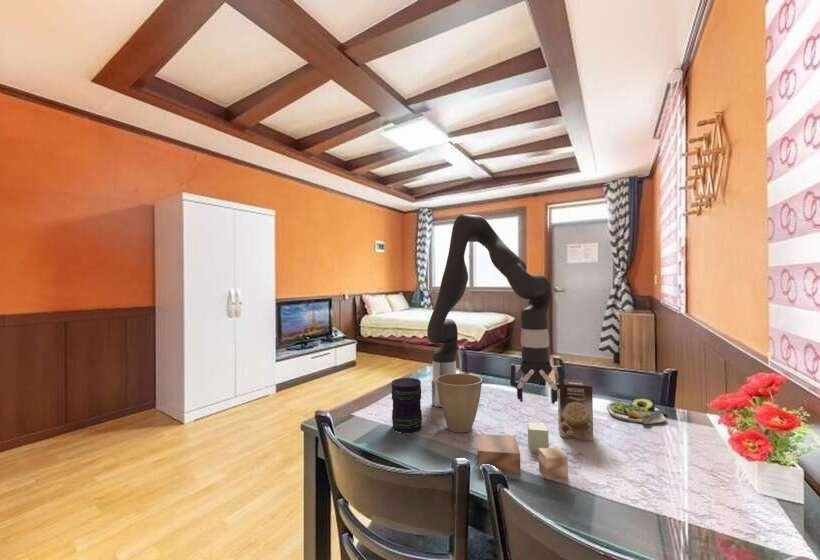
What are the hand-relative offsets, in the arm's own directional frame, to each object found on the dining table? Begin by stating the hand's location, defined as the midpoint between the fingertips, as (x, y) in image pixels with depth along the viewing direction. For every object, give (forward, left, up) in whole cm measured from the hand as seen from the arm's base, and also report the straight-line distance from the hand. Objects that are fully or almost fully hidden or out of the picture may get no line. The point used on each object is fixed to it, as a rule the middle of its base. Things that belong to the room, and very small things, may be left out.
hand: (537, 401), depth 96 cm
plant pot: (-23, +9, -13) cm, 28 cm away
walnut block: (-11, -10, -13) cm, 20 cm away
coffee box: (+12, +11, -13) cm, 21 cm away
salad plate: (+36, +33, -14) cm, 51 cm away
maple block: (+2, -13, -13) cm, 18 cm away
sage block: (0, 0, -13) cm, 13 cm away
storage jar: (-40, +6, -13) cm, 43 cm away
